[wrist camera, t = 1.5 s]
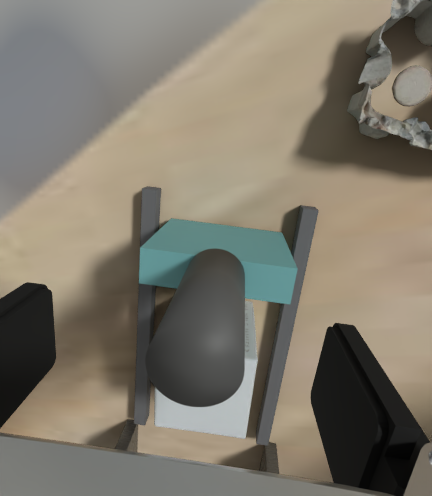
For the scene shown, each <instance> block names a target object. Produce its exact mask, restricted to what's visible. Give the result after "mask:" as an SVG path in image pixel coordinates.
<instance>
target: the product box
mask: <svg viewBox="0 0 432 496" xmlns="http://www.w3.org/2000/svg"><path fill="white" fill-rule="evenodd" d="M257 362H258V358H257V349H256V332H255V319H254V310H253V303H252V302H251V301H245V371H244V378H243V381H242V383H241V386H240V387H239V389H238V390H237V391H236V393H235V394H234V395H233V396H231V397H230V398H229V399H227V400H226V401H224V402H222V403H220V404H217V405H214V406H209V407H190V406H185V405H182V404H179V403H176V402H174V401H172V400H170V399H168V398H167V397H165V396H164V395H163V394H162V393H160V392H159V391H158V390H157V389H156V387H155V421H154V424H155V426H157V427H166V428H174V429H181V430H188V431H195V432H203V433H210V434H217V435H224V436H230V437H237V438H243V439H245V438H246V433H247V426H248V420H249V414H250V407H251V401H252V394H253V387H254V380H255V374H256V367H257Z"/></svg>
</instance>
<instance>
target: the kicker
mask: <svg viewBox="0 0 432 496" xmlns="http://www.w3.org/2000/svg"><path fill="white" fill-rule="evenodd" d="M297 269H298V268H297V266H296V264H295V261H294V259H293V257H292V255H291V252H290V250H289V248H288V245H287V243H286V241H285V238H284V236H283V234H282V233H281V232H273V231H266V230H258V229H250V228H242V227H234V226H227V225H219V224H211V223H203V222H195V221H188V220H180V219H172V218H171V219H170V220H169V221H168V222H167V223H166V224H165V225H164V226H163V227H162V228H161V229H159V230H158V231H157V232H156V233H155V234H154V235H153V236H152V237H151V238H150V239H149V240H148V241H147V242H146V243H145V244H143V245H142V246H141V247H140V267H139V283H140V284H148V285H155V286H162V287H169V288H176V289H177V290H176V292H175V294H174V296H173V298H172V300H171V302H170V304H169V306H168V308H167V310H166V312H165V314H164V316H163V318H162V320H161V323H160V325H159V327H158V329H157V331H156V333H155V335H154V337H153V339H152V341H151V343H150V345H149V347H148V349H147V353H146V359H145V363H146V370H147V373H148V376H149V378H150V380H151V382H152V383H153V385H154V386H155V387H156V389H157V390H158V391H159V392H160V393H162V394H163V395H164V396H165V397H167V398H168V399H170V400H172V401H174V402H176V403H179V404H182V405H185V406H190V407H209V406H214V405H217V404H220V403H222V402H224V401H226V400H227V399H229V398H230V397H231V396H233V395H234V394H235V393H236V391H237V390H238V389H239V387H240V386H241V383H242V381H243V378H244V371H245V298H247V299H255V300H262V301H269V302H276V303H283V304H290V303H291V299H292V294H293V289H294V284H295V279H296V274H297Z"/></svg>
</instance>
